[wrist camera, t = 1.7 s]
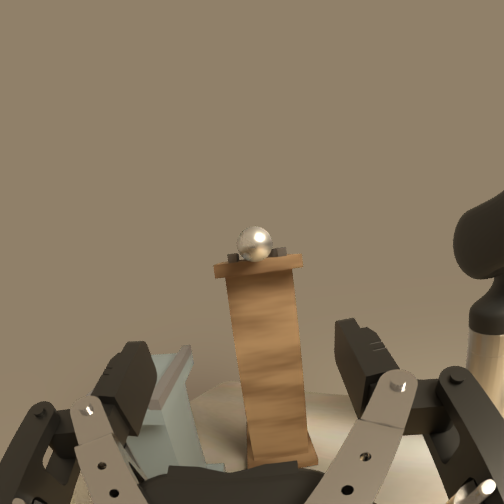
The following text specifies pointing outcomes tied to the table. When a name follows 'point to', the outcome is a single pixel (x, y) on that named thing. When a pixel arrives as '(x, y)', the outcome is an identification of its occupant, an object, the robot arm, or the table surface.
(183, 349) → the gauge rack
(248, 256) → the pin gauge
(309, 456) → the stand
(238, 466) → the table surface
